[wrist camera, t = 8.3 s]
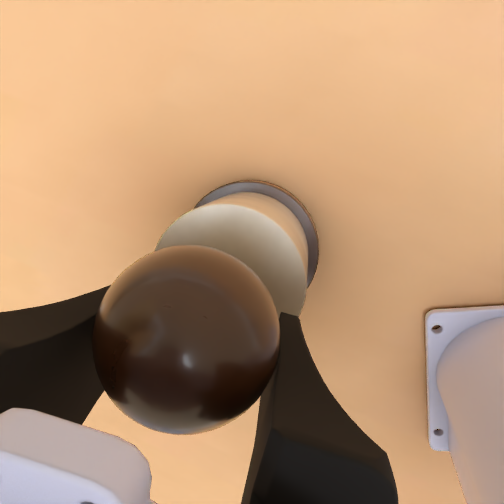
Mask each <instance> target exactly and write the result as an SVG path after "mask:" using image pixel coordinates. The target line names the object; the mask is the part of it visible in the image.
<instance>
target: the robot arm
mask: <svg viewBox="0 0 504 504" xmlns="http://www.w3.org/2000/svg"><path fill="white" fill-rule="evenodd" d="M110 286H111V285H109V286H107V287H104V288H102V289H99V290H96V291H93V292H90V293H87V294H84V295H81V296H78V297H75V298H72V299H68V300H64V301H61V302H57V303H52V304H48V305H44V306H39V307H33V308H27V309H21V310H15V311H8V312H0V504H157V503H156V502H154V501H152V500H150V487H151V480H152V476H151V472H150V467H149V463H148V461H147V459H146V458H145V457H144V455H143V454H142V453H141V452H140V451H139V450H138V449H137V447H136V446H135V445H133V444H131V443H129V442H127V441H125V440H123V439H122V438H120V437H118V436H115V435H112V434H108V433H105V432H102V431H99V430H96V429H93V428H90V427H86V426H83V425H82V424H83V422H84V421H85V419H86V417H87V416H88V414H89V413H90V411H91V410H92V408H93V406H94V405H95V403H96V402H97V400H98V399H99V397H100V396H101V394H102V393H103V392H104V388H103V386H102V384H101V382H100V380H99V378H98V375H97V372H96V369H95V364H94V359H93V350H92V335H93V328H94V323H95V318H96V314H97V312H98V309H99V306H100V304H101V302H102V300H103V298H104V296H105V294H106V292H107V290H108V289H109V288H110ZM279 323H280V350H279V355H278V360H277V363H276V366H275V369H274V372H273V375H272V377H271V379H270V381H269V383H268V385H267V387H266V388H265V390H264V391H263V393H262V394H261V398H260V406H259V414H258V422H257V430H256V437H255V443H254V449H253V453H252V458H251V462H250V466H249V471H248V475H247V480H246V484H245V489H244V493H243V497H242V502H241V504H398V494H397V488H396V483H395V479H394V476H393V472H392V469H391V466H390V462H389V459H388V456H387V453H386V452H385V451H383V450H382V449H381V448H380V447H379V446H378V445H377V444H376V443H375V442H374V441H373V440H372V439H370V438H369V437H368V436H367V435H366V434H365V433H364V432H363V431H362V430H361V429H360V428H359V427H358V426H357V424H356V423H355V422H354V421H353V420H352V419H351V418H350V417H349V416H348V414H347V413H346V412H345V411H344V410H343V408H342V407H341V406H340V404H339V403H338V402H337V401H336V399H335V398H334V397H333V395H332V394H331V392H330V391H329V389H328V387H327V386H326V384H325V383H324V381H323V379H322V377H321V375H320V374H319V372H318V370H317V368H316V365H315V363H314V361H313V359H312V357H311V354H310V352H309V349H308V347H307V344H306V341H305V338H304V335H303V332H302V328H301V324H300V319H299V318H298V316H295V315H291V314H288V313H284V312H281V313H280V317H279ZM435 325H440V328H438V329H436V330H434V329H432V327H433V326H435ZM425 338H426V374H427V410H428V441H429V444H430V447H431V448H432V449H434V450H436V451H449V452H450V455H451V458H452V461H453V464H454V467H455V470H456V473H457V476H458V479H459V482H460V485H461V488H462V491H463V494H464V497H465V500H466V503H467V504H504V305H499V306H482V307H465V308H448V309H434V310H430V311H429V312H428V313H427V314H426V316H425ZM436 429H440V430H436Z"/></svg>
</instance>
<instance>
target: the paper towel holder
mask: <svg viewBox="0 0 504 504" xmlns="http://www.w3.org/2000/svg"><path fill="white" fill-rule="evenodd" d="M318 255H319V248H318V237H317V232H316V228H315V225H314V223H313V220H312V218H311V216H310V214H309V213H308V211H307V210H306V208H305V207H304V206H303V205H302V204H301V202H300V201H299V200H298V199H297V198H295V197H294V196H293V195H292V194H291V193H289V192H288V191H286V190H284V189H283V188H281V187H278V186H276V185H274V184H271V183H268V182H263V181H256V180H245V181H238V182H233V183H229V184H226V185H224V186H221V187H219V188H217V189H215V190H213V191H211V192H210V193H209V194H207V195H206V196H205V197H203V198H202V199H201V200H200V201H199V202H198V203H197V205H196V206H195V207H194V209H193V210H191V211H189V212H187V213H185V214H184V215H182V216H181V217H179V218H178V219H177V220H175V221H174V222H173V223H172V224H171V225H170V226H169V227H168V228H167V230H166V231H165V232H164V234H163V235H162V236H161V238H160V240H159V242H158V244H157V246H156V249H155V251H154V252H152V253H150V254H148V255H146V256H144V257H142V258H140V259H139V260H137V261H136V262H135V263H133V264H132V265H130V266H129V267H128V268H127V269H125V270H124V271H123V272H122V273H121V274H120V275H119V276H118V277H117V279H116V280H115V281H114V282H113V284H112V285H111V286H110V288H109V289H108V290H107V292H106V294H105V296H104V298H103V300H102V302H101V304H100V306H99V309H98V312H97V314H96V318H95V323H94V328H93V335H92V350H93V359H94V364H95V369H96V372H97V375H98V378H99V380H100V382H101V384H102V386H103V388H104V390H105V391H106V393H107V394H108V396H109V398H110V399H111V400H112V401H113V403H114V404H115V405H116V406H117V407H118V408H119V409H120V410H121V411H122V412H123V413H124V414H125V415H127V416H128V417H129V418H130V419H132V420H134V421H135V422H137V423H138V424H140V425H142V426H144V427H146V428H149V429H152V430H154V431H158V432H162V433H167V434H174V435H192V434H199V433H203V432H208V431H212V430H214V429H217V428H220V427H222V426H224V425H226V424H228V423H230V422H231V421H233V420H235V419H236V418H238V417H239V416H241V415H242V414H243V413H245V412H246V411H247V410H248V409H249V408H250V407H251V406H252V405H253V404H254V403H255V402H256V401H257V399H258V398H259V397H260V395H261V394H262V393H263V391H264V390H265V388H266V387H267V385H268V383H269V381H270V379H271V377H272V375H273V372H274V369H275V366H276V363H277V360H278V355H279V350H280V323H279V317H280V313H281V312H284V313H288V314H291V315H295V316H298V317H299V316H300V314H301V311H302V308H303V305H304V302H305V297H306V289H307V288H308V287H309V285H310V283H311V281H312V279H313V277H314V274H315V272H316V268H317V264H318Z"/></svg>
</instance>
